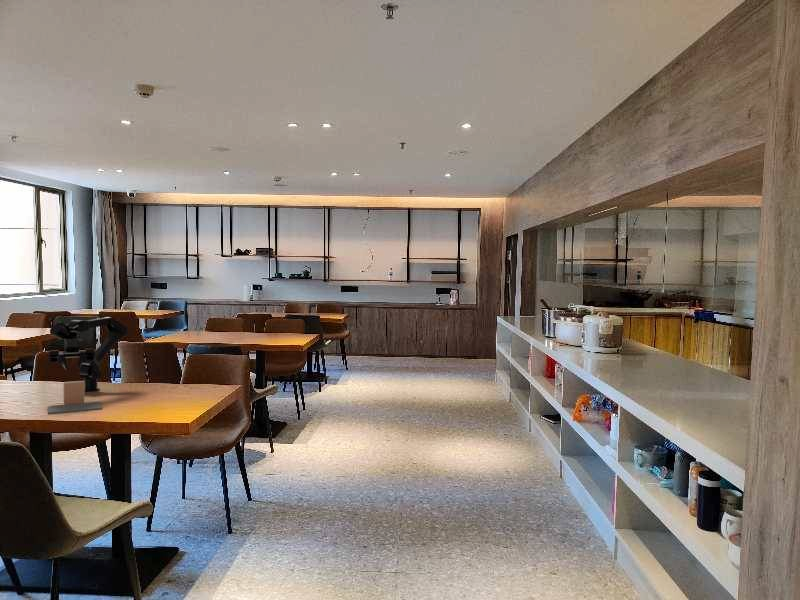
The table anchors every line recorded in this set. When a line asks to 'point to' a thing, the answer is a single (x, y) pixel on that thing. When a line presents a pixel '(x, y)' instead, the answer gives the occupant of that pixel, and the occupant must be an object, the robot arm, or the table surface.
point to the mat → (74, 407)
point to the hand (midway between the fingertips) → (72, 369)
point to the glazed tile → (73, 392)
